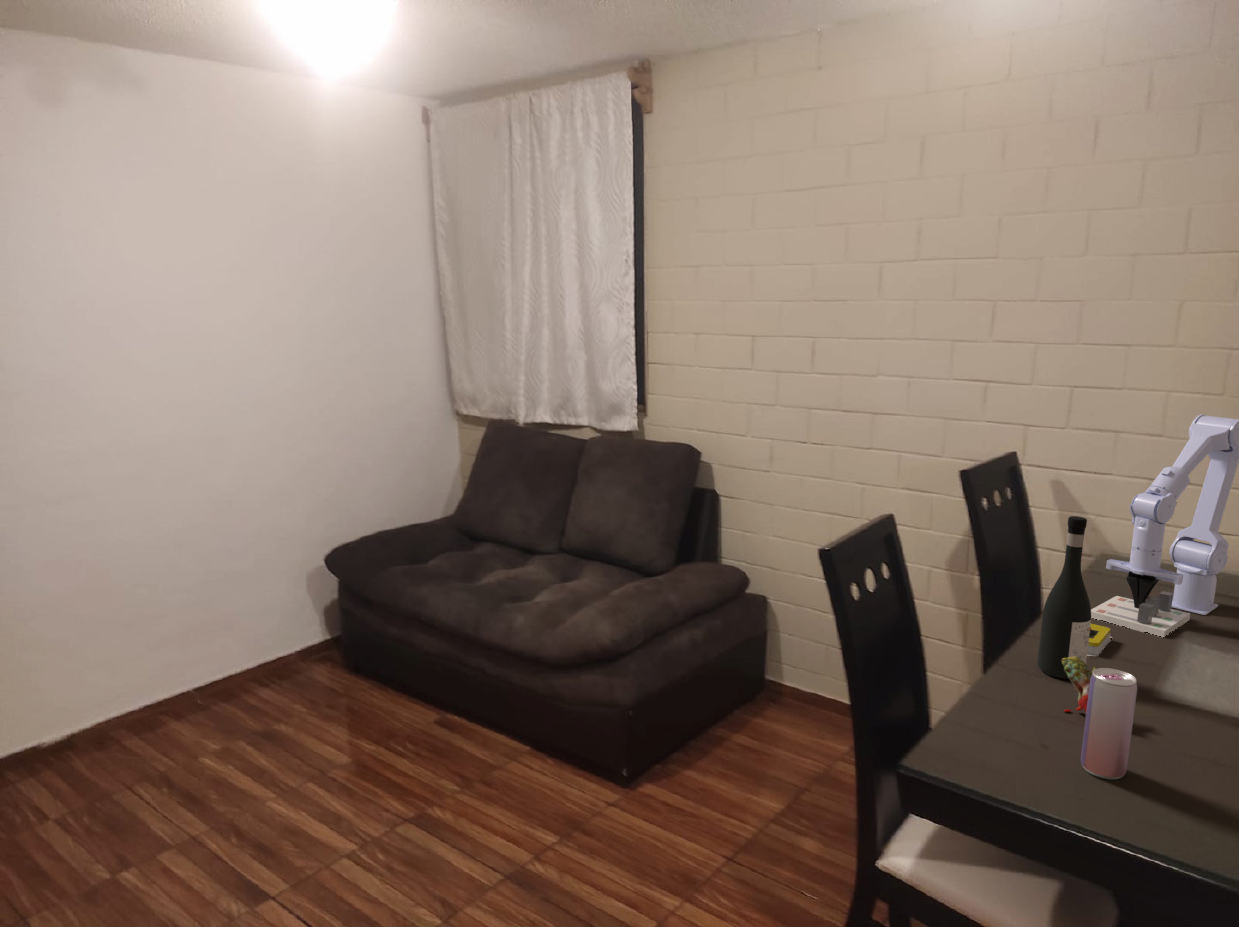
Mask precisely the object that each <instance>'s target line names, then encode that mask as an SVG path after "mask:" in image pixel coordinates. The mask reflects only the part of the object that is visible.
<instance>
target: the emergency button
mask: <svg viewBox="0 0 1239 927" xmlns="http://www.w3.org/2000/svg"><path fill="white" fill-rule="evenodd" d="M1110 638H1112V639H1113V636H1111V628H1109V627H1107V626H1103V625H1098V624H1094V623H1091V625H1090V634H1089V642H1088V650H1087V656H1098V657H1099V656H1100V655H1101V654H1102V652H1103V651H1104V650H1105V649H1104V648H1106V647H1107V646H1108V645H1109V644H1110V643H1111V642H1112V640H1110ZM1108 643H1109V644H1108ZM1107 644H1108V645H1107ZM1106 645H1107V646H1106ZM1105 646H1106V647H1105ZM1102 650H1103V651H1102ZM1099 654H1100V655H1099Z"/></svg>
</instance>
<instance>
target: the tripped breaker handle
mask: <svg viewBox="0 0 1239 927" xmlns="http://www.w3.org/2000/svg"><path fill="white" fill-rule="evenodd" d="M1145 603H1147V604H1151V605H1154V608H1153V615H1152V616H1156V615H1157V614H1158V611H1159V603H1160V598H1159V597H1156V596H1152V595H1149V596H1148V597H1147V598H1146V602H1145Z"/></svg>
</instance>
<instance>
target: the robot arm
mask: <svg viewBox="0 0 1239 927" xmlns="http://www.w3.org/2000/svg"><path fill="white" fill-rule="evenodd" d="M1188 428H1189V429H1188V438H1189V439H1188V441H1187V442H1186V444H1185V445H1184V447H1183V448H1182V450H1181V452H1180V454H1179V455H1178V456H1177V458H1176V460H1174V463H1173V464H1172V466H1167V467H1164V468H1163V469H1161V471H1160V472H1159V473H1158V475H1157V476H1156V477H1155V478H1154V480H1153V481H1152V483H1151V484H1150V485H1149V486H1148V487H1147V489H1146V490H1145V492H1140V493H1138V494H1136V495H1135V496H1134V497H1133V499H1132V500H1131V502H1130V503H1131V504H1129V512H1130V515H1131V524H1132V525H1133V530H1132V531H1133V533H1132V538H1131V539H1132V540H1131V549H1130V556H1129V557H1130V558H1129V561H1125V560H1117V559H1111V558H1110V559H1108V560H1106V566H1105V569H1107V570H1110V571H1111V570H1112V571H1114V570H1115V571H1119V572H1124V573H1128V575H1127V576H1126V582H1127V584H1128V586H1129V588H1130V591H1131V595H1132V598H1133V599H1132V600H1134V608H1138V609H1139V605H1140V604H1142V603H1145V602H1146V598H1147V597H1149V596H1150V594H1151V592H1152V590H1154V588H1155V586H1156V585H1157V583H1158V582H1159V581H1163V582H1168V583H1172V584H1173V585H1174V589H1173V600H1172V607H1171V608H1174V609H1176V610H1180V611H1184V612H1185V611H1186V612H1188V613H1194V614H1199V615H1202V616H1206V615H1208V614H1209V613H1211V612H1212V611H1213V610H1215V609H1216V608H1218V607H1219V604H1217V603H1214V602H1215V596H1216V595H1215V594H1216V589H1217V580H1218V579H1217V576H1216V575H1218V574H1220V573H1221V572H1222V571H1223V570H1224V569H1225V567H1226V565H1227V563H1228V556H1229V555H1228V549H1229V544H1230V543H1229V542H1228V540H1227V539H1226V538H1225V537H1224V536H1223V535H1222V534H1221V533H1220V527H1221V523H1222V520H1223V516H1224V512H1225V511H1226V510H1225V509H1226V506H1227V502H1228V501H1229V496H1230V493H1231V489H1232V487H1233V486H1232V485H1233V483H1234V480H1235V479H1234V478H1235V476H1236V472H1237V469H1238V466H1239V419H1238V418H1237V419H1236V418H1230V417H1224V416H1223V417H1221V416H1214V415H1207V414H1202V413H1201V414H1198V415H1197V416H1195V418H1194V419H1193V421H1192V422H1191V424H1190V426H1188ZM1207 455H1208V457H1209V458H1210V461H1209V464H1208V468H1207V470H1206V471H1207V472H1206V474H1205V478H1204V480H1203V484H1202V488H1201V490H1200V491H1201V492H1200V495H1199V499H1198V502H1197V505H1196V509H1195V513H1194V514H1193V517H1192V518H1193V519H1192V522H1191V525H1190V526H1188V527H1185V528H1182V529H1181V530H1179V531H1178V532H1177V535H1176V537H1175V538H1174V541H1173V542H1172V543H1171V545H1170V547H1169V557H1170V561H1172V563H1173V566H1174V567H1175V568H1176V572H1174V571H1171V570H1168V569H1165V568H1161V562H1162V555H1163V548H1164V541H1165V540H1164V538H1165V533H1166V532H1165V531H1166V530H1165V529H1166V524H1167V523H1168V522H1169V521H1170V520H1171V519H1172V518H1173V515H1174V513H1175V511H1176V510H1175V509H1176V507H1177V505H1178V502H1177V500H1178V499H1179V497H1180V496H1181V495H1182V494H1183V493H1184V491H1185V490H1186V489H1187V487H1188V486H1189V484H1190V483H1191V479H1190V476H1189V475H1190V474H1191V473H1192V472H1193V471H1194V469H1196V468H1197V467H1198V465H1199V464H1201V462H1203V460H1204V459H1205V458H1206V457H1207ZM1197 540H1200V541H1197ZM1201 541H1203V542H1201ZM1205 542H1207V543H1205ZM1209 543H1210V544H1209Z"/></svg>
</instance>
